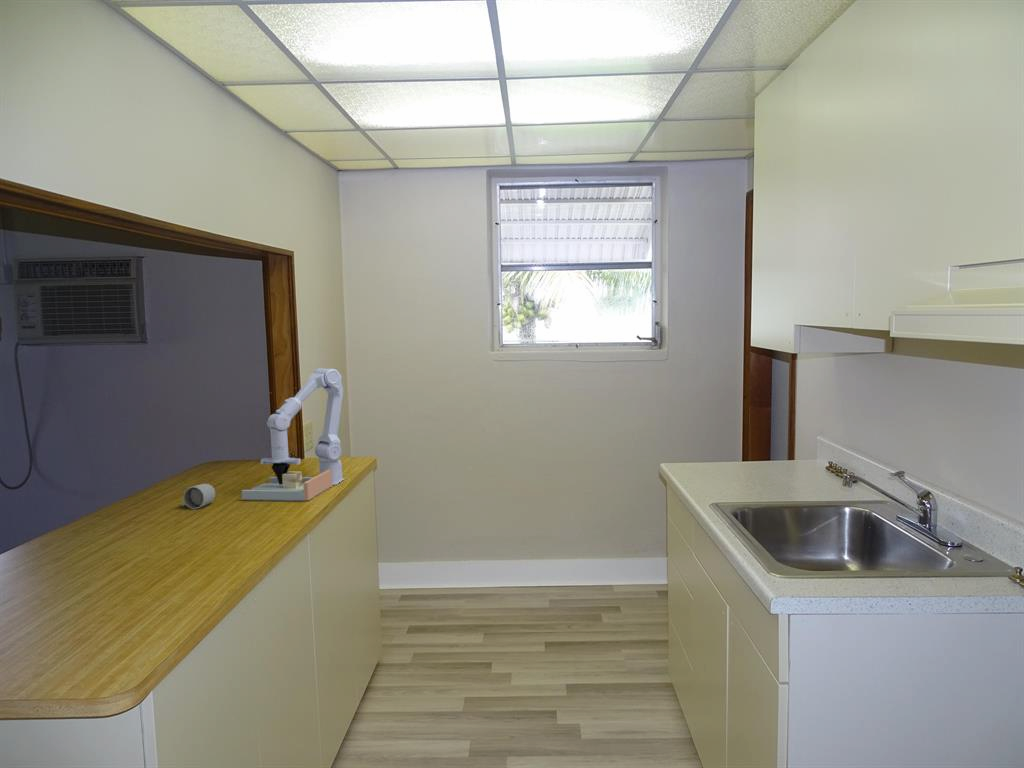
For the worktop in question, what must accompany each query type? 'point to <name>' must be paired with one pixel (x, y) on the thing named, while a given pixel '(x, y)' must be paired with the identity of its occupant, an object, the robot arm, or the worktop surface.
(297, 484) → the birch block
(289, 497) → the box
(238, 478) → the worktop surface
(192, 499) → the ceramic mug
